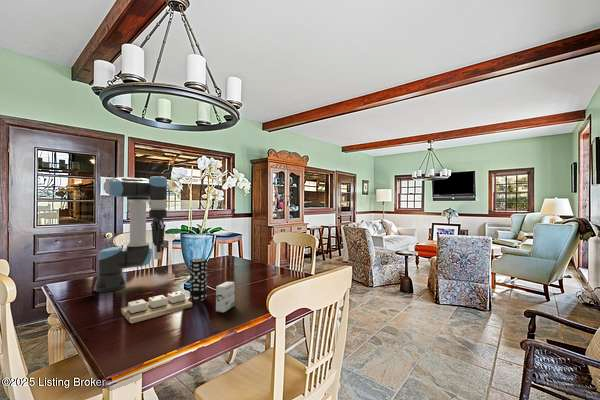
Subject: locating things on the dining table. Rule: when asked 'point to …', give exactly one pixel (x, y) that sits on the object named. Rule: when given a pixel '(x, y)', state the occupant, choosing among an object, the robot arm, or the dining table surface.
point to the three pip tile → (176, 296)
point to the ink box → (225, 296)
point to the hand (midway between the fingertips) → (157, 258)
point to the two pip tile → (157, 301)
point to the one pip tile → (137, 306)
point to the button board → (155, 311)
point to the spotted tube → (198, 279)
